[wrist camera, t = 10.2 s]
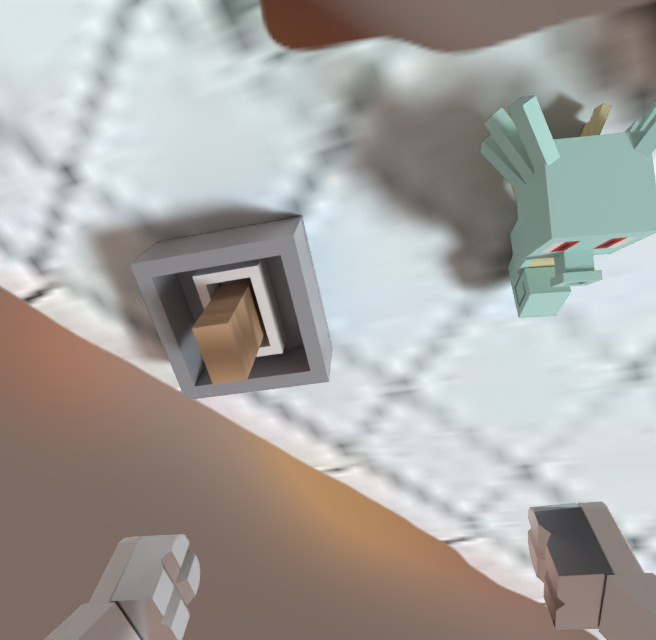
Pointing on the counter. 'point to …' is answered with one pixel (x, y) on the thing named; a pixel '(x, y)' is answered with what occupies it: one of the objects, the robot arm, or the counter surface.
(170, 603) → the robot arm
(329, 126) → the counter surface
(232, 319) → the tan wooden brick
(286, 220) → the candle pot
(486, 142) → the toy
